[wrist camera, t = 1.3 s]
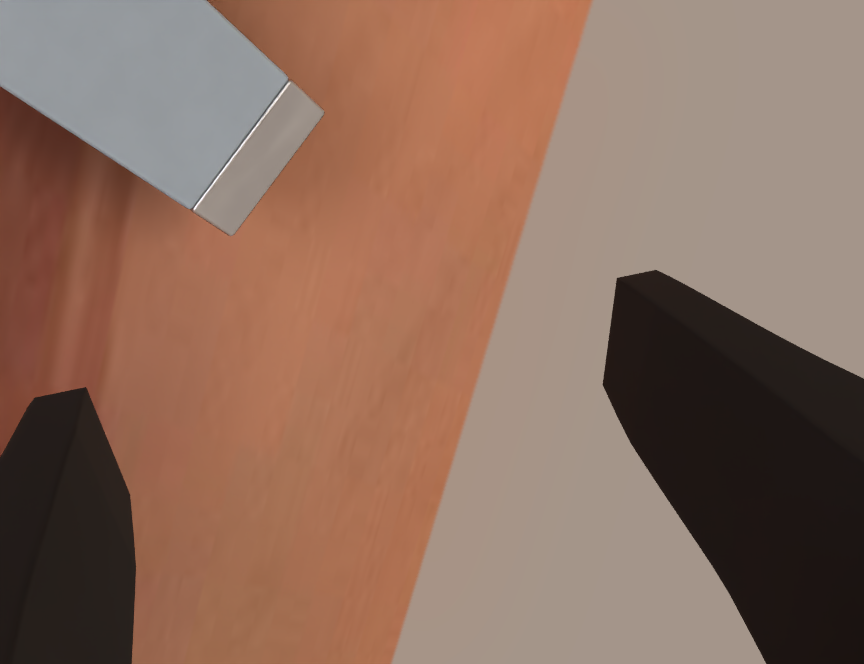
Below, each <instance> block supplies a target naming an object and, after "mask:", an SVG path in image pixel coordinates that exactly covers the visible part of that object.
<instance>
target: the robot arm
mask: <svg viewBox="0 0 864 664" xmlns="http://www.w3.org/2000/svg"><path fill="white" fill-rule="evenodd" d="M603 386H604V389H605V391H606V393H607V395H608V397H609V399H610V402H611V403H612V406H613V408H614V410H615V412H616V415H617V417H618V419H619V421H620V423H621V424H622V427H623V429H624V430H625V433H626V435H627V437H628V438H629V440H630V443H631V444H632V446H633V447H634V449H635V450H636V452H637V453H638V455H639V456H640V458H641V460H642V461H643V463H644V464H645V466H646V467H647V469H648V470H649V472H650V473H651V475H652V476H653V478H654V480H655V481H656V483H657V484H658V485H659V487H660V489H661V490H662V492H663V493H664V495H665V496H666V498H667V499H668V501H669V502H670V504H671V505H672V506H673V508H674V509H675V511H676V512H677V514H678V515H679V517H680V518H681V520H682V521H683V523H684V524H685V526H686V527H687V529H688V530H689V532H690V533H691V534H692V536H693V538H694V539H695V541H696V542H697V543H698V545H699V547H700V548H701V549H702V551H703V553H704V554H705V556H706V557H707V559H708V560H709V562H710V563H711V565H712V566H713V568H714V569H715V571H716V573H717V574H718V576H719V577H720V579H721V581H722V582H723V584H724V586H725V587H726V589H727V590H728V592H729V594H730V596H731V598H732V599H733V601H734V603H735V605H736V607H737V609H738V611H739V613H740V615H741V616H742V618H743V620H744V622H745V624H746V626H747V628H748V630H749V632H750V633H751V635H752V637H753V639H754V641H755V643H756V645H757V647H758V649H759V650H760V652H761V654H762V656H763V658H764V660H765V662H766V664H864V379H863V378H861V377H859V376H857V375H855V374H853V373H851V372H849V371H846V370H845V369H842V368H840V367H838V366H836V365H834V364H832V363H830V362H828V361H826V360H823V359H821V358H820V357H818V356H816V355H814V354H812V353H810V352H808V351H806V350H804V349H802V348H800V347H798V346H796V345H794V344H793V343H791V342H789V341H787V340H785V339H783V338H781V337H779V336H777V335H775V334H774V333H772V332H770V331H768V330H766V329H764V328H763V327H761V326H759V325H757V324H755V323H754V322H752V321H750V320H748V319H746V318H744V317H743V316H741V315H739V314H737V313H735V312H734V311H732V310H730V309H728V308H726V307H725V306H723V305H721V304H719V303H717V302H716V301H714V300H712V299H710V298H708V297H707V296H705V295H703V294H701V293H699V292H698V291H696V290H694V289H692V288H690V287H688V286H687V285H685V284H683V283H681V282H679V281H677V280H675V279H673V278H672V277H670V276H667V275H665V274H663V273H661V272H659V271H657V270H654V271H649V272H644V273H639V274H634V275H630V276H625V277H620V278H617V281H616V289H615V297H614V304H613V311H612V319H611V327H610V334H609V341H608V349H607V356H606V365H605V372H604V380H603ZM135 576H136V562H135V548H134V534H133V523H132V511H131V500H130V494H129V491H128V489H127V486H126V484H125V481H124V479H123V476H122V474H121V472H120V469H119V467H118V464H117V462H116V459H115V457H114V454H113V452H112V449H111V447H110V445H109V442H108V440H107V437H106V435H105V432H104V430H103V427H102V425H101V423H100V420H99V418H98V415H97V413H96V410H95V408H94V405H93V403H92V401H91V398H90V396H89V393H88V391H87V388H86V387H85V388H80V389H75V390H70V391H65V392H60V393H56V394H51V395H46V396H41V397H36V398H34V399H33V401H32V402H31V403H30V405H29V406H28V408H27V409H26V411H25V413H24V415H23V417H22V419H21V420H20V422H19V424H18V426H17V428H16V430H15V432H14V433H13V435H12V437H11V439H10V441H9V443H8V444H7V446H6V448H5V450H4V452H3V454H2V455H1V457H0V664H132V644H133V624H134V601H135Z"/></svg>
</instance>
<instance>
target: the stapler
mask: <svg viewBox="0 0 864 664" xmlns="http://www.w3.org/2000/svg"><path fill="white" fill-rule="evenodd" d="M0 87H2V88H3V89H5V90H7V91H8V92H10V93H11V94H13V95H14V96H16V97H17V98H19V99H20V100H22V101H23V102H25V103H26V104H28V105H30V106H31V107H33V108H34V109H36V110H37V111H39V112H40V113H42V114H43V115H45V116H46V117H48V118H49V119H51V120H52V121H54V122H56V123H57V124H59V125H60V126H62V127H63V128H65V129H66V130H68V131H69V132H71V133H72V134H74V135H75V136H77V137H78V138H80V139H82V140H83V141H85V142H86V143H88V144H89V145H91V146H92V147H94V148H95V149H97V150H98V151H100V152H101V153H103V154H105V155H106V156H108V157H109V158H111V159H112V160H114V161H115V162H117V163H118V164H120V165H121V166H123V167H124V168H126V169H127V170H129V171H131V172H132V173H134V174H135V175H137V176H138V177H140V178H141V179H143V180H144V181H146V182H147V183H149V184H150V185H152V186H153V187H155V188H157V189H158V190H160V191H161V192H163V193H164V194H166V195H167V196H169V197H170V198H172V199H173V200H175V201H176V202H178V203H180V204H181V205H183V206H184V207H186V208H187V209H190V210H191V211H192V212H193V213H195V214H196V215H198V216H199V217H201V218H203V219H204V220H206V221H207V222H209V223H210V224H212V225H213V226H215V227H216V228H218V229H219V230H221V231H222V232H224V233H225V234H227V235H229V236H233V235H234V234H235V233H236V232H237V230H238V229H239V228H240V226H241V225H242V224H243V222H244V221H245V220H246V218H247V217H248V216H249V214H250V213H251V212H252V210H253V209H254V208H255V206H256V205H257V204H258V202H259V201H260V200H261V198H262V197H263V196H264V194H265V193H266V192H267V190H268V189H269V188H270V186H271V185H272V184H273V182H274V181H275V180H276V178H277V177H278V175H279V174H280V173H281V171H282V170H283V169H284V167H285V166H286V165H287V163H288V162H289V161H290V159H291V158H292V157H293V155H294V154H295V153H296V151H297V150H298V149H299V147H300V146H301V145H302V143H303V142H304V141H305V139H306V138H307V137H308V135H309V134H310V133H311V131H312V130H313V129H314V127H315V126H316V125H317V123H318V122H319V121H320V119H321V118H322V117H323V115H324V113H325V112H324V110H323V109H322V108H321V107H320V106H319V105H318V104H317V103H316V102H315V101H314V100H313V99H312V98H311V97H310V96H309V95H307V94H306V93H305V92H304V91H303V90H302V89H301V88H300V87H299V86H298V85H297V84H296V83H295V82H294V81H292V80H291V79H289V78H288V77H287V75H286V74H285V73H284V72H283V71H282V70H281V69H280V68H279V67H278V66H276V65H275V64H274V63H273V62H272V61H271V60H270V59H269V58H268V57H267V56H266V55H265V54H264V53H263V52H261V51H260V50H259V49H258V48H257V47H256V46H255V45H254V44H253V43H252V42H251V41H250V40H249V39H248V38H246V37H245V36H244V35H243V34H242V33H241V32H240V31H239V30H238V29H237V28H236V27H235V26H234V25H233V24H231V23H230V22H229V21H228V20H227V19H226V18H225V17H224V16H223V15H222V14H221V13H220V12H219V11H218V10H216V9H215V8H214V7H213V6H212V5H211V4H210V3H209V2H208V1H207V0H0Z"/></svg>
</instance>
